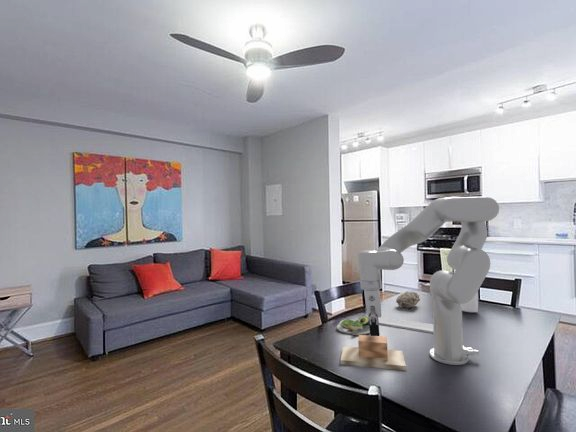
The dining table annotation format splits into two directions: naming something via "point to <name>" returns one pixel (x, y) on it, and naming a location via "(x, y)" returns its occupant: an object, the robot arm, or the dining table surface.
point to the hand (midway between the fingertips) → (374, 330)
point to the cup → (471, 304)
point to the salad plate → (355, 326)
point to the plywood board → (394, 359)
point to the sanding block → (373, 347)
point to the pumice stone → (408, 299)
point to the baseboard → (406, 324)
